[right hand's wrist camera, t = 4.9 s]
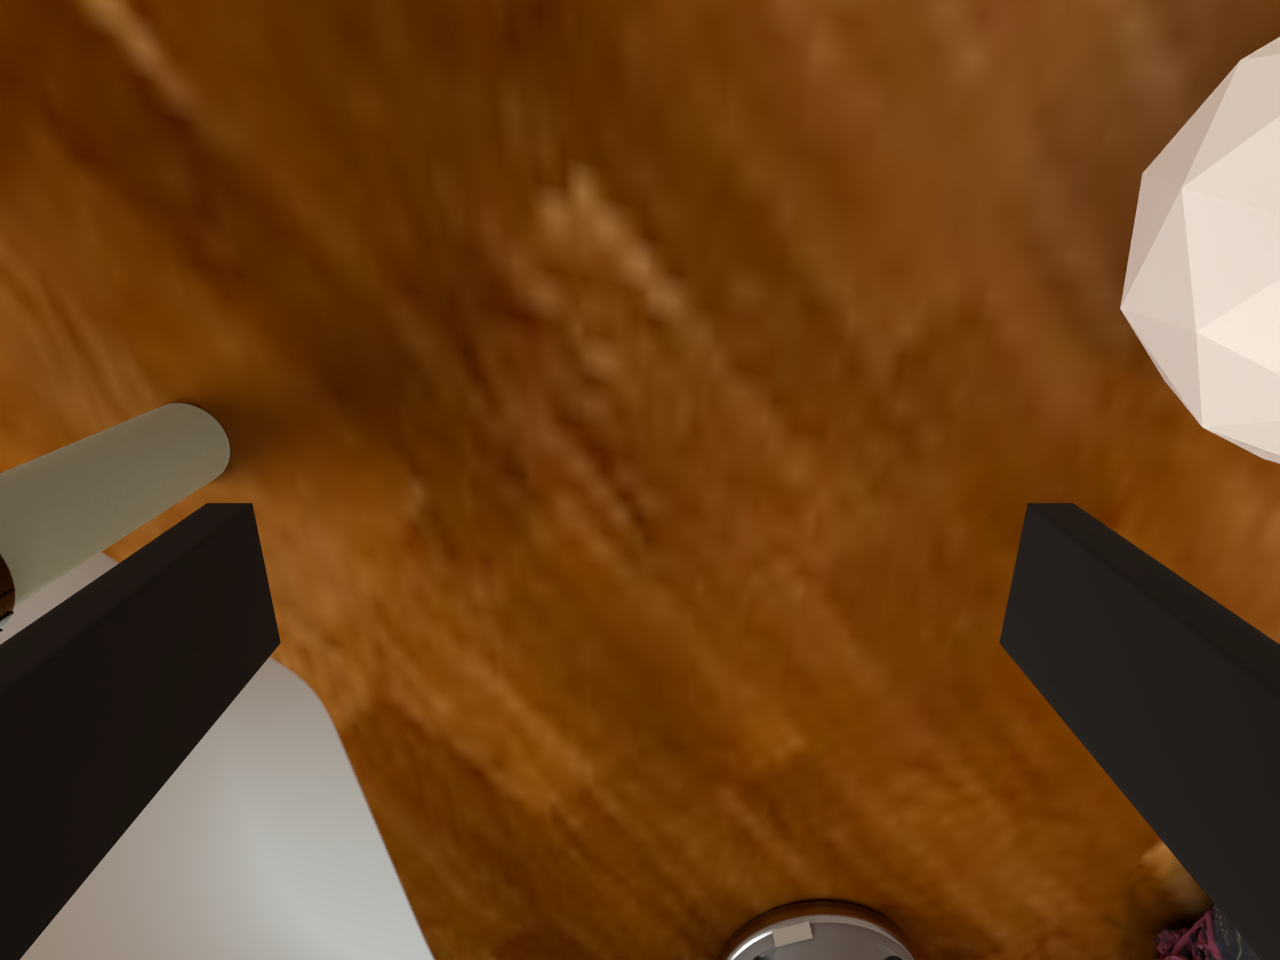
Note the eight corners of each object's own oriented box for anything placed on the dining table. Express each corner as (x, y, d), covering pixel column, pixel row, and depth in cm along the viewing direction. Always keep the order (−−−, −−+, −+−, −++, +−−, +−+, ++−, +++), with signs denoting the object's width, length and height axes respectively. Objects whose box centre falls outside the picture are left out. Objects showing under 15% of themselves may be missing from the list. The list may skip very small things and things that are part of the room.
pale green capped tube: (246, 439, 41) (-14, 593, 25) (204, 499, 42) (-69, 682, 26) (169, 385, 40) (-156, 508, 24) (129, 448, 41) (-206, 606, 25)
